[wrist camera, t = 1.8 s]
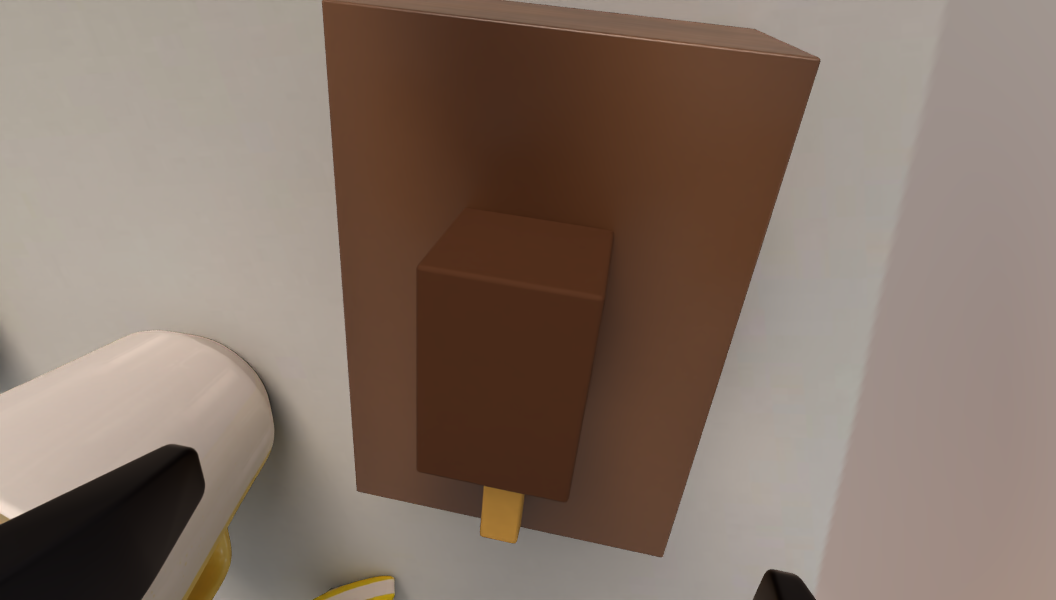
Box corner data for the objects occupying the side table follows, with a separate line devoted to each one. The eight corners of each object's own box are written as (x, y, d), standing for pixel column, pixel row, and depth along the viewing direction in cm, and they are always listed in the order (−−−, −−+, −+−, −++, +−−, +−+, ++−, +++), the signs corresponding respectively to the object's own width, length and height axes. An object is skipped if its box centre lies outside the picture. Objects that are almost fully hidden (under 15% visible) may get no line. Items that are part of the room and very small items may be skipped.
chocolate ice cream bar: (615, 229, 12) (606, 298, 9) (562, 519, 16) (546, 621, 14) (463, 205, 12) (414, 265, 10) (451, 495, 17) (415, 590, 14)
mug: (84, 258, 24) (-256, 425, 15) (318, 321, 23) (110, 536, 14) (134, 486, 31) (-80, 695, 22) (316, 540, 30) (174, 778, 21)
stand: (756, 29, 16) (822, 58, 10) (659, 402, 22) (663, 558, 16) (438, -8, 17) (320, -2, 11) (432, 359, 23) (356, 491, 17)
